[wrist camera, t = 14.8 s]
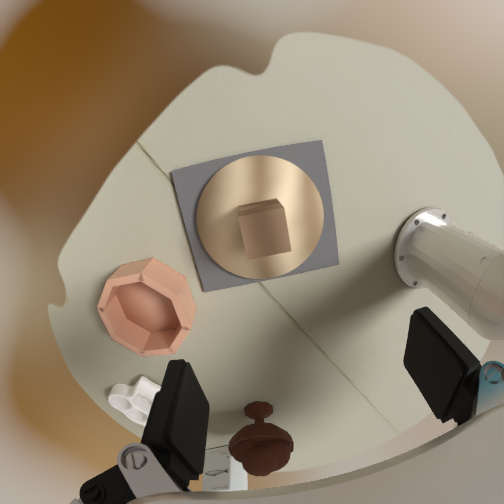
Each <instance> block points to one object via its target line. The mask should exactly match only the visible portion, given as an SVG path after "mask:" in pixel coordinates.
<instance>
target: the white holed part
mask: <svg viewBox="0 0 504 504" xmlns="http://www.w3.org/2000/svg"><path fill="white" fill-rule="evenodd" d="M160 389H161V386H160V385H158V384H156V383H154V382H152V381H150V380H148V379H147V378H146V377H144V376H141V377H140V378H139V379H138V381H137V382H136V384H135V386H129V385H126V384H121V383H119V384H115V385H114V386H113V387H112V390H111V392H110V394H109V396H108V401H109V403H110V405H111V406H112V407H113V408H115V409H117V410H119V411H121V412H122V413H124V414H125V415H126V416H127V417H128V418H129V419H130V420H132V421H133V422H134V423H137V424H140V425H143V426H146V422H147V419H148V416H149V412H150V409H151V406H152V402H153V399H154V396H155V394H156V392H157V391H160ZM139 395H140V396H142V397H143V398H142V397H140V396H139ZM144 398H145V399H144ZM146 399H147V400H146ZM148 400H149V401H148ZM150 401H151V402H150Z"/></svg>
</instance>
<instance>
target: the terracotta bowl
mask: <svg viewBox="0 0 504 504" xmlns="http://www.w3.org/2000/svg"><path fill="white" fill-rule="evenodd" d="M97 310H98V312H99V314H100V316H101V318H102V320H103V322H104V324H105V326H106V328H107V330H108V332H109V334H110V336H111V338H112V339H113V340H115V341H116V342H118V343H120V344H121V345H123V346H125V347H127V348H128V349H130V350H132V351H134V352H135V353H137V354H139V355H141V356H155V355H166V354H175V352H176V351H177V349H178V348H179V346H180V345H181V343H182V342H183V340H184V339H185V337H186V336H187V334H188V333H189V331H190V330H191V327H192V323H193V320H194V316H195V312H196V306H195V303H194V300H193V297H192V294H191V291H190V288H189V285H188V282H187V279H186V277H185V276H184V275H182V274H180V273H179V272H177V271H175V270H173V269H172V268H170V267H168V266H167V265H165V264H163V263H162V262H160V261H158V260H157V259H155V258H154V257H153V258H149V259H144V260H140V261H136V262H131V263H127V264H123V265H121V266H120V267H119V268H118V269H117V270H116V271H115V272H114V273H113V274H112V275H111V276H110V277H109V278H108V279H107V281H106V284H105V287H104V289H103V292H102V295H101V298H100V300H99V303H98V306H97Z"/></svg>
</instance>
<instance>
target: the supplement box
mask: <svg viewBox="0 0 504 504" xmlns="http://www.w3.org/2000/svg"><path fill="white" fill-rule="evenodd" d="M228 446H229V445H228ZM228 446H224V447H220V448H214V449H208V450H206V452H205V463H204V476H203V487H202V491H239V490H248V486H247V472H246V471H245V470H244V469H243V466H242V463H240V462H238V461H236V460H235V459H234V457H232V456H231V454H230V452H229V449H228Z"/></svg>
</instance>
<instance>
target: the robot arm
mask: <svg viewBox="0 0 504 504" xmlns="http://www.w3.org/2000/svg"><path fill="white" fill-rule="evenodd" d="M394 261H395V267H396V271H397V273H398V275H399V277H400V278H401V279H402V280H403V281H404V282H405V283H406V284H407V285H409V286H411V287H413V288H426V287H427V288H428V289H429V290H430V291H432V292H433V293H434V294H435V295H436V296H437V297H439V298H440V299H441V300H442V301H443V302H444V303H445V304H446V305H448V306H449V307H450V308H451V309H452V310H453V311H454V312H455V313H456V314H458V315H459V316H460V317H461V318H462V319H463V320H464V321H465V322H466V323H467V324H468V325H469V326H470V327H472V328H473V329H474V330H475V331H476V332H477V333H478V334H479V335H480V336H482V337H483V338H485V339H488V340H494V341H497V340H503V339H504V250H502V249H500V248H498V247H497V246H495V245H493V244H491V243H489V242H487V241H485V240H483V239H481V238H479V237H477V236H474V234H473V232H466V231H464V230H462V229H459V228H457V227H456V225H455V223H454V221H453V219H452V218H451V216H450V215H449V214H448V213H447V212H445V211H443V210H442V209H439V208H435V207H428V208H424V209H422V210H419V211H418V212H416V213H415V214H413V215H412V216H411V217H410V218H409V219H408V220H407V222H406V223H405V225H404V226H403V227H402V229H401V231H400V233H399V236H398V239H397V242H396V246H395V251H394ZM403 361H404V366H405V368H406V369H407V371H408V373H409V374H410V376H411V377H412V379H413V380H414V382H415V384H416V385H417V387H418V388H419V390H420V392H421V393H422V395H423V396H424V398H425V400H426V401H427V403H428V405H429V406H430V408H431V410H432V411H433V413H434V415H435V416H436V418H437V419H441V421H442V423H445V422H446V421H448V420H450V419H452V418H453V419H454V421H455V425H454V429H453V430H451V431H449V432H447V433H445V434H443V435H441V436H439V437H438V438H435V439H433V440H432V441H429V442H427V443H425V444H424V445H421V446H419V447H417V448H415V449H412V450H410V451H408V452H405V453H403V454H401V455H398V456H396V457H393V458H391V459H388V460H385V461H382V462H380V463H377V464H374V465H371V466H368V467H365V468H362V469H358V470H355V471H352V472H349V473H345V474H341V475H338V476H333V477H329V478H325V479H320V480H316V481H311V482H306V483H300V484H294V485H289V486H281V487H274V488H265V489H254V490H239V491H199V492H192V491H191V490H190V489H189V487H188V485H189V481H190V480H199V474H202V473H203V468H204V458H205V447H206V437H207V428H208V418H209V403H208V401H207V399H206V397H205V395H204V393H203V391H202V388H201V386H200V384H199V382H198V380H197V378H196V376H195V374H194V372H193V369H192V367H191V365H190V363H189V362H185V360H184V359H180V360H170V361H169V363H168V366H167V369H166V373H165V376H164V379H163V382H162V386H161V389H160V391H157V392H156V394H155V396H154V399H153V403H152V406H151V409H150V412H149V416H148V419H147V422H146V426H145V429H144V433H143V436H142V440H141V443H131V444H128V445H126V446H125V447H123V448H122V449H121V451H120V452H119V454H118V456H117V463H118V464H117V465H115V466H114V467H112V468H110V469H108V470H107V471H105V472H103V473H101V474H99V475H97V476H96V477H94V478H92V479H90V480H88V481H86V482H85V483H84V484H83V485H82V487H81V489H80V498H79V499H78V500H77V499H76V498H75V499H74V500H73V501H72V502H71V503H70V504H504V365H503V364H502V363H500V362H497V361H489V362H486V363H485V364H484V365H483V366H481V365H480V361H479V360H478V359H477V358H476V357H475V356H474V355H473V354H472V352H471V351H470V350H469V349H468V348H467V347H466V346H465V345H464V344H463V343H462V342H461V340H460V339H459V338H458V337H457V336H456V335H455V334H454V333H453V332H452V331H451V330H450V329H449V328H448V327H447V326H446V325H445V324H444V323H443V322H442V321H441V320H440V319H439V318H438V317H437V316H436V315H435V314H434V313H433V312H432V311H431V310H430V309H429V308H428V307H423V308H420V309H417V310H415V311H414V312H413V314H412V315H411V318H410V325H409V331H408V338H407V344H406V349H405V355H404V360H403Z"/></svg>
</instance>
